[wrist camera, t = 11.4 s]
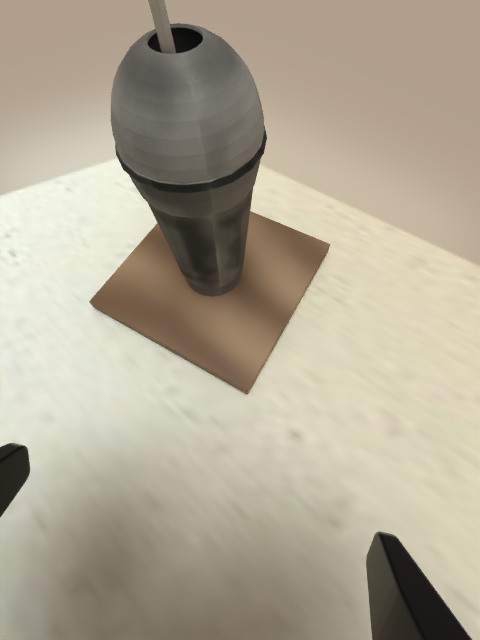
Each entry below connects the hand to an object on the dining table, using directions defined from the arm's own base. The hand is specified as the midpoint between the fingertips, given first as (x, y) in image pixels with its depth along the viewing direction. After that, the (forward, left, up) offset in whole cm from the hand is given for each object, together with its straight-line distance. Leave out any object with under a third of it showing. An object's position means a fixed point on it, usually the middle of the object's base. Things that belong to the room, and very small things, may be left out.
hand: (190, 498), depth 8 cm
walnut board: (+13, +9, -14) cm, 20 cm away
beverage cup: (+13, +9, -13) cm, 20 cm away
